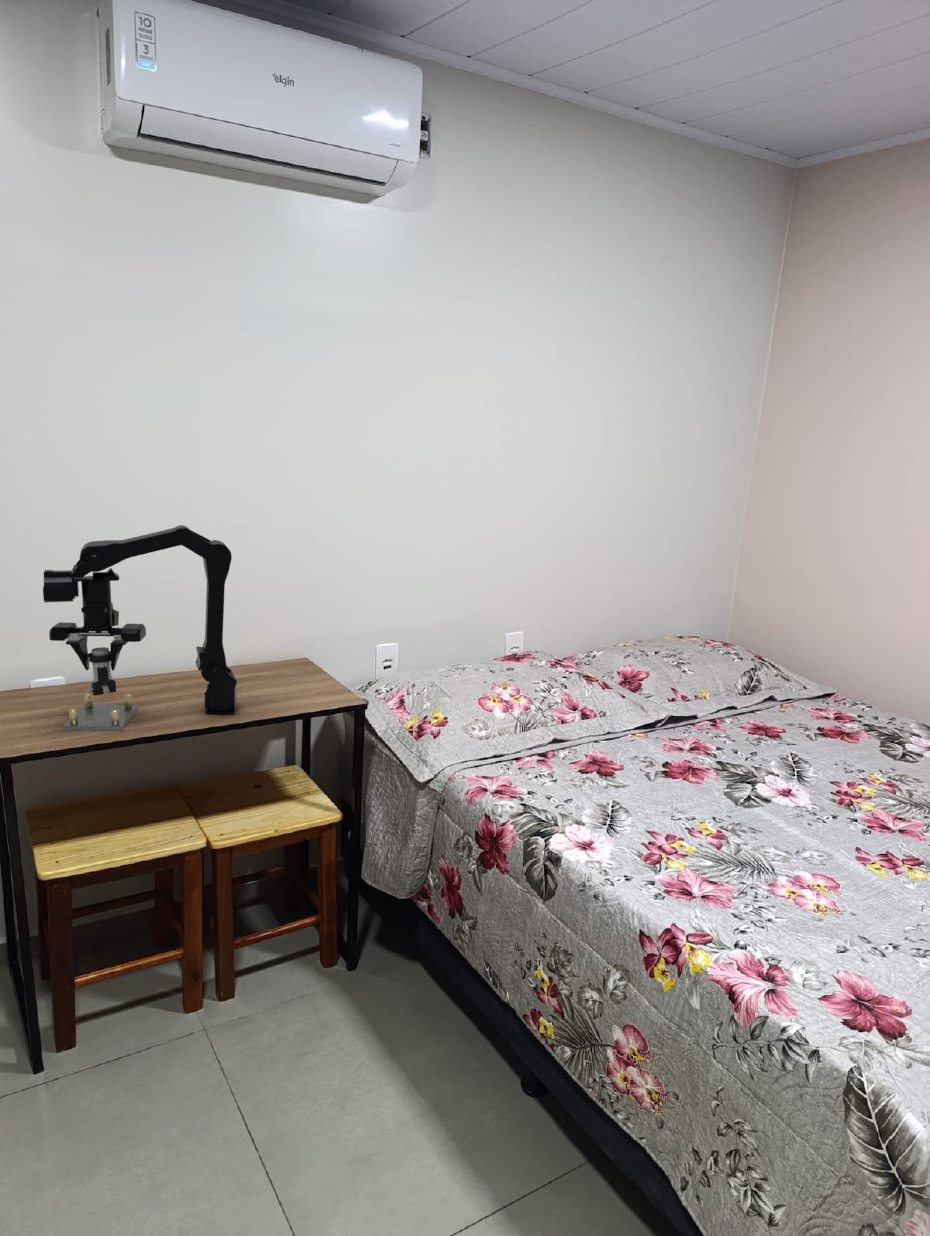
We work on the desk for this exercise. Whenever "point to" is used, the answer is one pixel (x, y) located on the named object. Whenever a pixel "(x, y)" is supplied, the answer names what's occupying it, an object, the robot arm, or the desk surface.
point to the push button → (101, 672)
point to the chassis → (101, 715)
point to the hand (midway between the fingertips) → (100, 669)
